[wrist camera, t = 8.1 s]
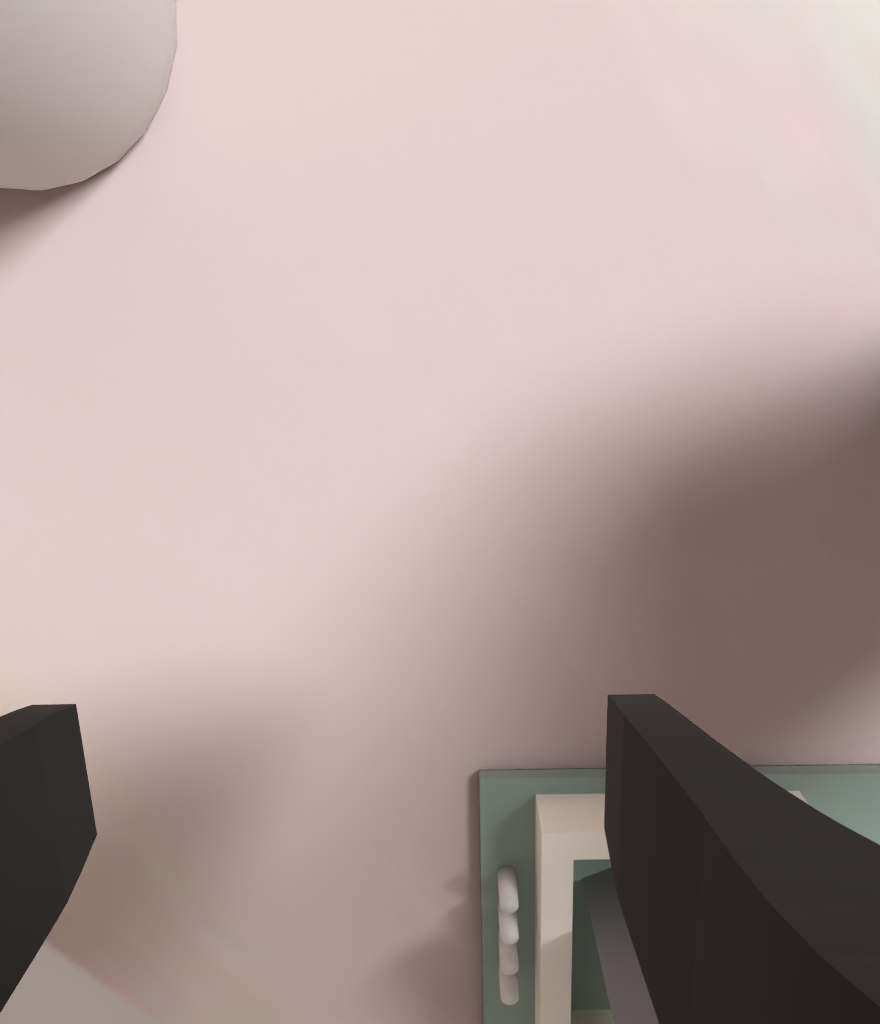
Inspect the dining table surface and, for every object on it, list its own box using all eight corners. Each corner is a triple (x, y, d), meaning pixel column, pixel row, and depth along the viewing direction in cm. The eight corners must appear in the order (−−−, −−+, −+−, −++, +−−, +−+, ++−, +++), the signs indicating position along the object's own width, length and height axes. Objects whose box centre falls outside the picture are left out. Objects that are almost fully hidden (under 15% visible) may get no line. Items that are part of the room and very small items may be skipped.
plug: (684, 839, 22) (785, 1080, 15) (734, 949, 23) (849, 1222, 16) (582, 878, 23) (636, 1129, 16) (635, 985, 24) (708, 1265, 17)
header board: (926, 763, 22) (992, 830, 19) (887, 1030, 24) (941, 1123, 22) (478, 770, 22) (482, 837, 20) (483, 1033, 25) (487, 1126, 22)
